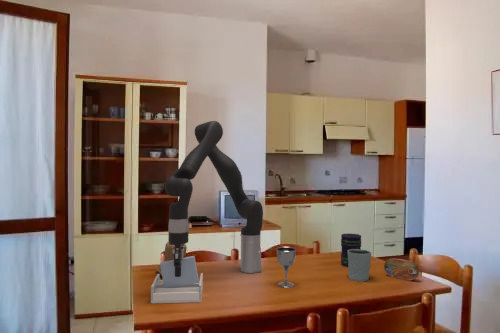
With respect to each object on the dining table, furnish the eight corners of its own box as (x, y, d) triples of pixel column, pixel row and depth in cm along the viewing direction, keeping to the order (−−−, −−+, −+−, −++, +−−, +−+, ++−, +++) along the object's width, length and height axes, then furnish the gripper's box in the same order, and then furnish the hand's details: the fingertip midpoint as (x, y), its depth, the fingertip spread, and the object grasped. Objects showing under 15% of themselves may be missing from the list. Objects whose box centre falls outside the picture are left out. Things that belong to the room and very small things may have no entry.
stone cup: (189, 277, 173) (189, 243, 173) (162, 280, 168) (162, 246, 168) (180, 269, 187) (180, 237, 186) (155, 271, 182) (155, 239, 181)
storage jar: (363, 264, 197) (364, 234, 197) (357, 268, 189) (358, 237, 189) (344, 261, 202) (344, 232, 202) (337, 265, 194) (338, 235, 194)
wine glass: (297, 283, 166) (297, 247, 166) (293, 288, 158) (293, 251, 158) (279, 281, 168) (279, 246, 168) (274, 286, 161) (274, 250, 161)
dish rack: (202, 287, 159) (202, 273, 159) (201, 302, 142) (201, 285, 142) (157, 288, 157) (157, 273, 157) (150, 303, 141) (150, 286, 141)
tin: (383, 275, 178) (383, 257, 178) (386, 274, 180) (387, 255, 180) (417, 282, 167) (417, 263, 167) (420, 281, 170) (420, 261, 170)
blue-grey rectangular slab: (198, 280, 152) (194, 255, 151) (198, 282, 149) (193, 257, 149) (165, 287, 150) (160, 262, 150) (164, 289, 148) (159, 263, 148)
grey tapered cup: (343, 278, 173) (343, 251, 173) (354, 273, 180) (354, 247, 180) (364, 283, 166) (364, 255, 166) (375, 278, 173) (375, 251, 173)
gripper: (187, 233, 143) (186, 280, 143) (189, 227, 157) (189, 270, 157) (166, 233, 142) (165, 281, 142) (170, 227, 156) (170, 270, 156)
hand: (178, 275), depth 150 cm, fingers closed on blue-grey rectangular slab, 2 cm apart
